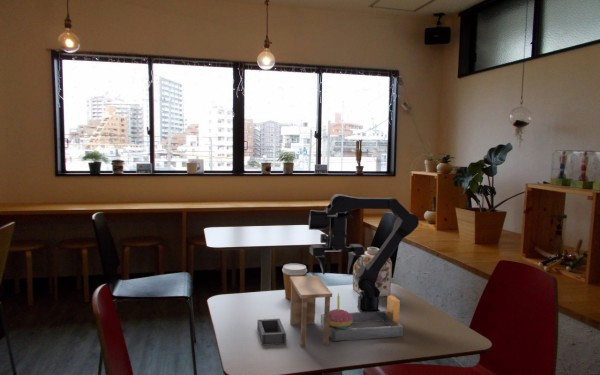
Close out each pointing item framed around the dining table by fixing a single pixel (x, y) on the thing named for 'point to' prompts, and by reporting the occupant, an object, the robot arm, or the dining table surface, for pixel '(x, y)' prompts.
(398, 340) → the dining table surface
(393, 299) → the grey shallow tray
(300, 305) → the small wooden table
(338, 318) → the cupcake
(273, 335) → the box
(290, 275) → the disposable coffee cup
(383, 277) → the decorative jar
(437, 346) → the dining table surface
